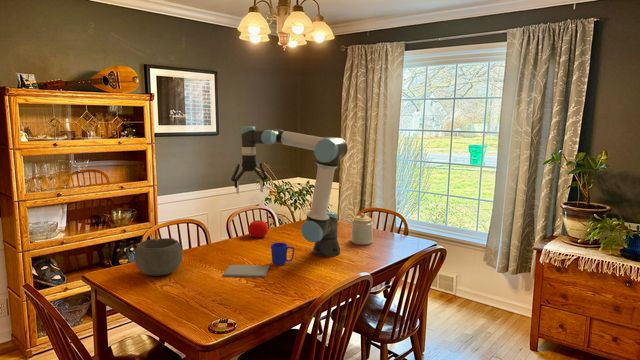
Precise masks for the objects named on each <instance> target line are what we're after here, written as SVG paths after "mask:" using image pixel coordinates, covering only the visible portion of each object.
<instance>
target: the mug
mask: <svg viewBox="0 0 640 360" xmlns="http://www.w3.org/2000/svg"><path fill="white" fill-rule="evenodd" d="M270 249H271V262H272V264H273V265H274V266H283V265H285V264H286V263H287V262H289V263H290V262H292V261H293V259H294V255H295V247H293V246H288V244H287V243H286V242H274V243H271V244H270ZM288 249H291V250H292V255H291V258H290V259H288Z"/></svg>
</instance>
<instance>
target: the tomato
mask: <svg viewBox="0 0 640 360" xmlns="http://www.w3.org/2000/svg"><path fill="white" fill-rule="evenodd" d="M249 223H250V224H249V225H248V227H247V230H248V233H249V234H250V236H251V237H253V238H258V239H260V238H262V237H265V236H266V235H267V234H268V232H269V227H268V224H267V222H265V221H264V220H261V219H260V220H259V219H258V220H253V221H251V222H249Z"/></svg>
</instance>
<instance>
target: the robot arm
mask: <svg viewBox="0 0 640 360" xmlns="http://www.w3.org/2000/svg"><path fill="white" fill-rule="evenodd" d="M240 135H241V137H240V138H241V163H235V164H236V165H235V166H236V167H235V169H234V171H233V174H232V175H231V177H230V181H232V182H233V183H234V185H233V186H234V188H235V189H236V190H235V192H236V195H237V194H238V195H240V187H239V185H240V182H239V180H240V179H241V177H242V176H243V175H244V173H248V172H254V174H256V175H257V176H258V177H259V179H260V180H259V192H260V193H264V187H265V180H267V179H268V176H267V174H266V171H265V170H264V168H263V164H262V162H258V163H257V155H256V154H257V152H256V151H257V149H256V148H257V145H273V144H279V145H284V146H291V147H296V148H301V149H306V150H309V151H310V150H311V151H313V154H314V157H315V164H316V165H317V172H316V176H315V177H316V178H315V183H314V189H313V193H312V194H313V195H312V199H311V200H312V201H311V206H310V211H308V212H307V214H306V217H305V218H306V219H305V222H303V224H301V227H300V231H301V232H300V233H301V235H302V236H303V239H305V240H306V241H308V242H310V243H314V244H313V248H312V254H313V255H315V256H317V257H318V256H319V257H324V258H325V257H336V256H339V255H340V254H341V247H340V244H339V241H338V222H339V219H338V213H337V212H334V211H328V209H329V204H330V200H331V199H330V198H331V192H332V186H333V182H334V175H335V170H336V169H337V168H338V167H339V165H340V160H341V159H343V158H344V157H345V156H346V155H347V153H348V150H349V148H348V143H347V141H345V139H343V138H341V137H337V136H335V137H333V136H325V137H321V136H316V135H308V134H305V133H304V134H303V133H298V132H293V131H287V130H283V129H279V128H277V129H256V126H254V125H253V126H252V125H250V126H249V125H248V126H247V125H246V126H242V127H241V134H240ZM241 168H242V169H241ZM257 168H258V169H259V170H260V172H261V173H260V172H259V170H257ZM240 169H241V170H240ZM239 170H240V172H239ZM238 172H239V173H238ZM262 175H263V176H262Z"/></svg>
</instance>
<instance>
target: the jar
mask: <svg viewBox="0 0 640 360" xmlns="http://www.w3.org/2000/svg"><path fill="white" fill-rule="evenodd" d="M372 220H373V218H371V217H370V216H367V215H365V213H364V212H361V213H360V215H357V216H355V217H353V218H352V221H351V225H352V226H351V238H350V239H351V243H353V244H355V245H361V246H362V245H365V246H366V245H370V244H372V243H373V240H374V237H373V234H374V233H373V232H374V227H373V225H374V222H373V221H372Z"/></svg>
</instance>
